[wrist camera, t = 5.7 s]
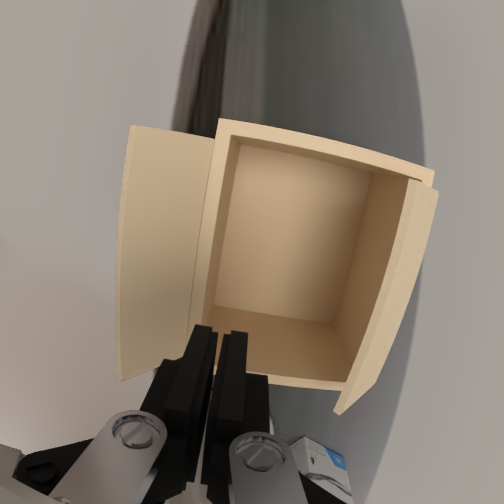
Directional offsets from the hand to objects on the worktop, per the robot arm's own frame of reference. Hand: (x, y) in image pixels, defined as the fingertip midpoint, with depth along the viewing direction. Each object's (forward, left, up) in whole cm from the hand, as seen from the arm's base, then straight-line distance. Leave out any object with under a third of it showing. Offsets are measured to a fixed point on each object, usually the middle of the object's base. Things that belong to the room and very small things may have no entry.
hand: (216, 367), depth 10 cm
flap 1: (-2, +3, -7) cm, 8 cm away
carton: (+3, -3, -19) cm, 19 cm away
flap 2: (+7, -6, -7) cm, 11 cm away
